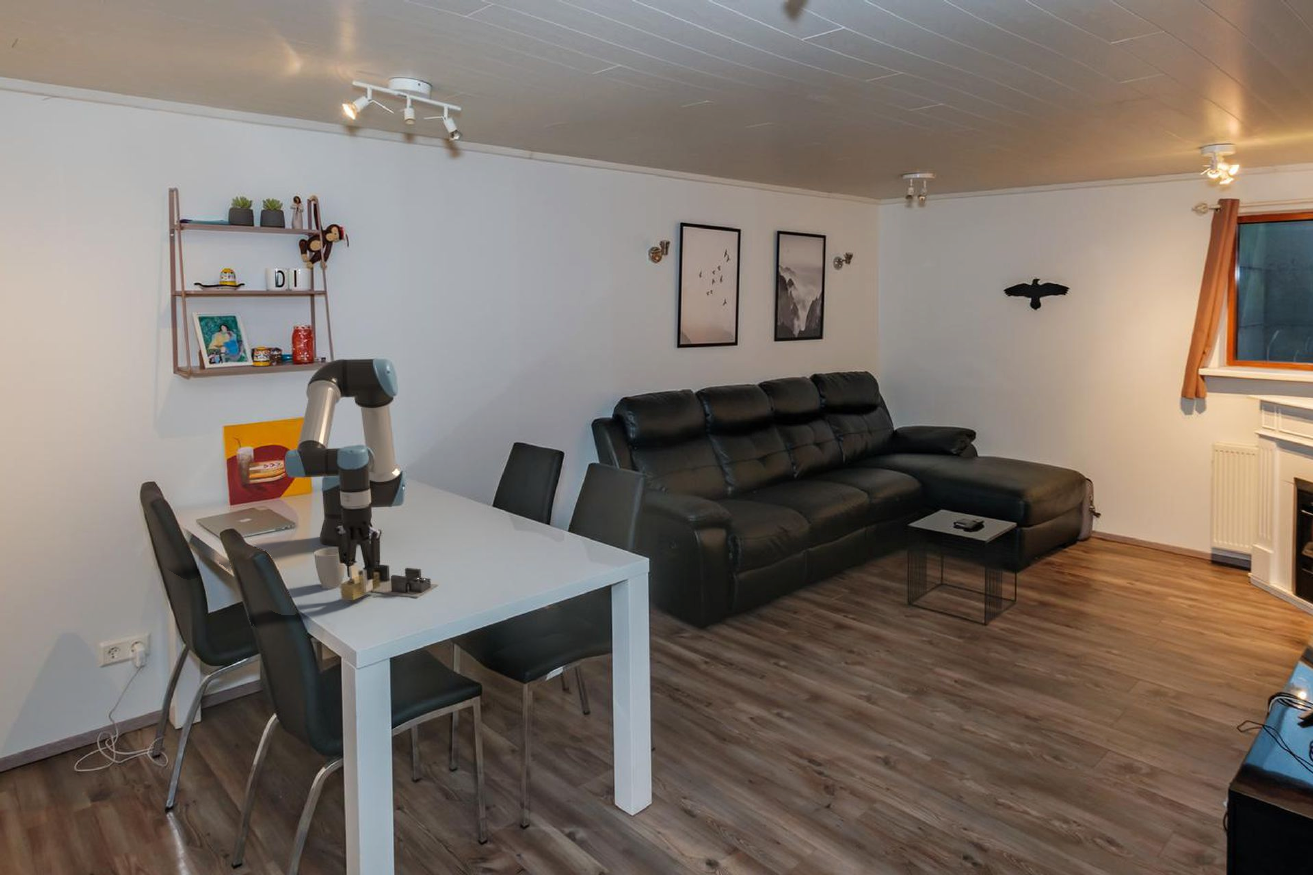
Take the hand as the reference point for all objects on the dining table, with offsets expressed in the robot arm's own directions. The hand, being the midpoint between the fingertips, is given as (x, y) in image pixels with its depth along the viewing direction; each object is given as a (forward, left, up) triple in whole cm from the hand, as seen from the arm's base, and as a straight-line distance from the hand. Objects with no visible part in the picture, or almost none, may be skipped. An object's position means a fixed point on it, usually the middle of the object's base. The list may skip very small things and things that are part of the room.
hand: (361, 589), depth 222 cm
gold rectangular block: (0, 0, -1) cm, 1 cm away
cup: (-15, +6, -3) cm, 16 cm away
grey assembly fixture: (+2, +10, -3) cm, 11 cm away
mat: (+2, +10, -3) cm, 11 cm away
